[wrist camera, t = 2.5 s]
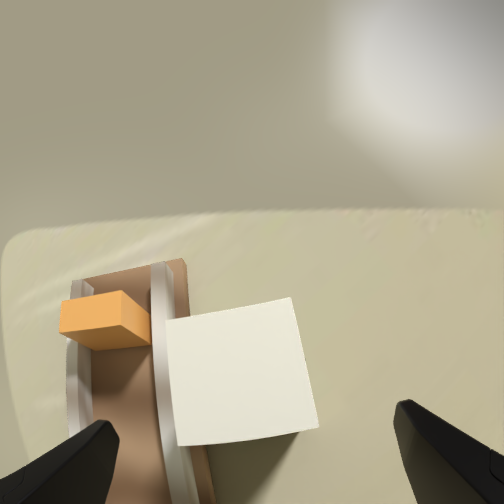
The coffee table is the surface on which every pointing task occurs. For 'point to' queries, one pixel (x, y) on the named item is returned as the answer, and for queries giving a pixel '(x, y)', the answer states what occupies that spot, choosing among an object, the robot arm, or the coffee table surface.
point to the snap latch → (106, 321)
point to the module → (238, 375)
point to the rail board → (138, 394)
